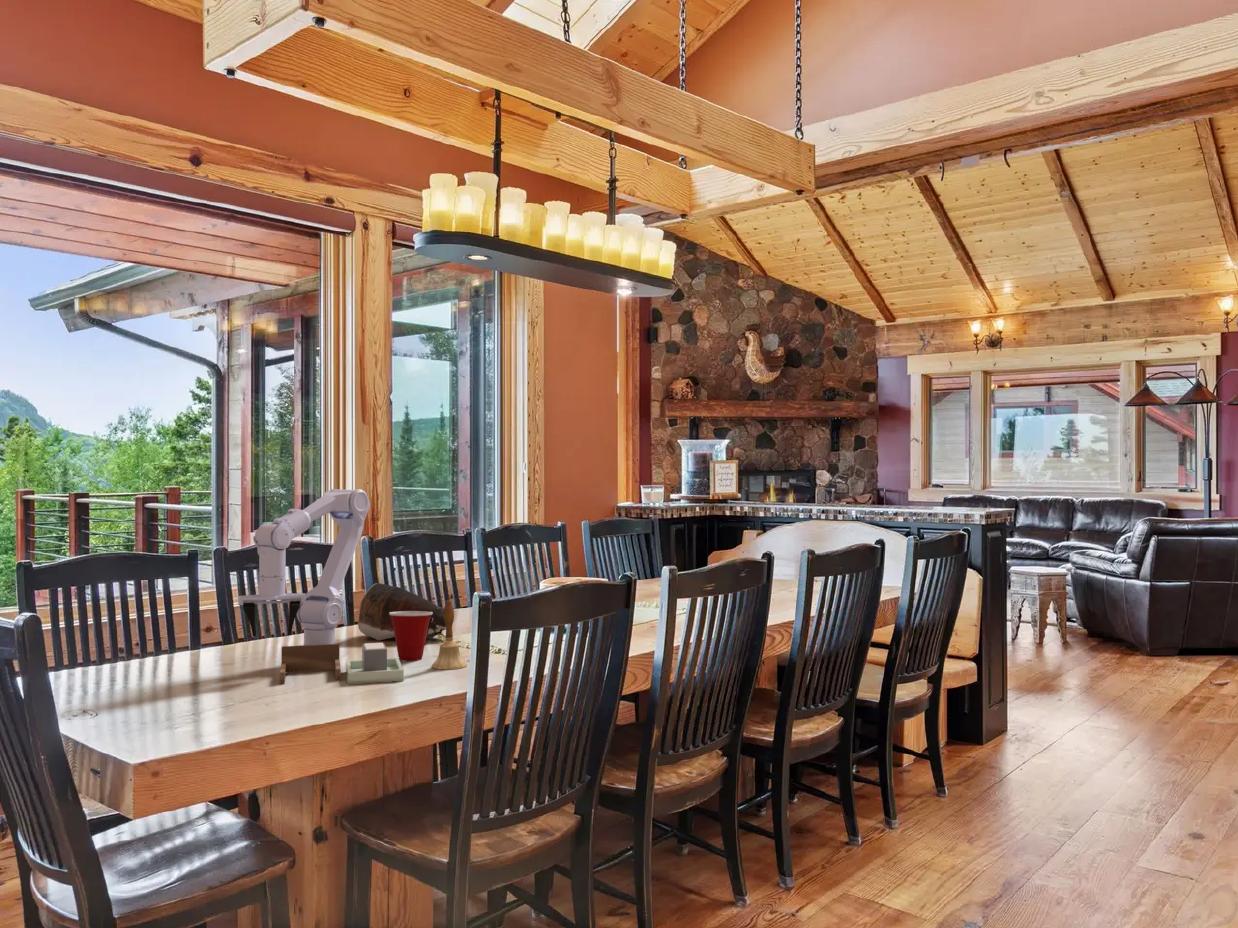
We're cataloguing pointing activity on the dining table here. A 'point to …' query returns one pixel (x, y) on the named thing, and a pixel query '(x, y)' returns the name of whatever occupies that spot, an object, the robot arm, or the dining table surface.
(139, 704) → the dining table surface
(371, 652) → the grey upright block
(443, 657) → the hand bell
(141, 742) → the dining table surface
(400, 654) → the plastic cup
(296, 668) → the dock
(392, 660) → the tray
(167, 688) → the dining table surface
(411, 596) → the clay pot
